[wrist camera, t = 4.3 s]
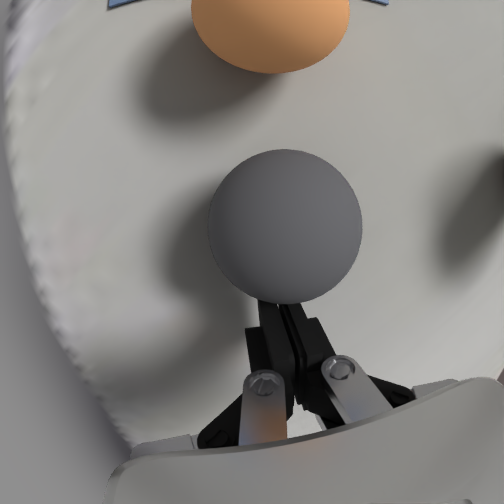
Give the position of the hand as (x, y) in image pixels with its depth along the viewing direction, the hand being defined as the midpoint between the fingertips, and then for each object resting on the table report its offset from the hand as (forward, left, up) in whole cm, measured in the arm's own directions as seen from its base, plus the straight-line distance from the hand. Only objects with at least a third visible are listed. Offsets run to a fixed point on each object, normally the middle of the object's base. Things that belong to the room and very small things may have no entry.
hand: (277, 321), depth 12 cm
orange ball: (+12, +3, +1) cm, 13 cm away
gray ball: (+4, +1, +1) cm, 5 cm away
